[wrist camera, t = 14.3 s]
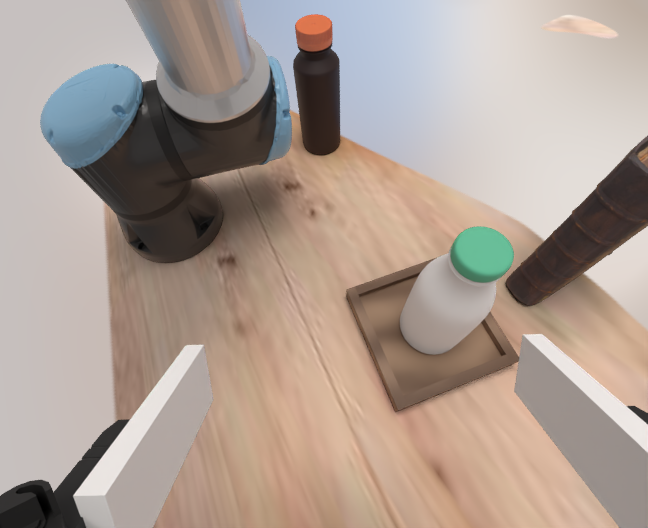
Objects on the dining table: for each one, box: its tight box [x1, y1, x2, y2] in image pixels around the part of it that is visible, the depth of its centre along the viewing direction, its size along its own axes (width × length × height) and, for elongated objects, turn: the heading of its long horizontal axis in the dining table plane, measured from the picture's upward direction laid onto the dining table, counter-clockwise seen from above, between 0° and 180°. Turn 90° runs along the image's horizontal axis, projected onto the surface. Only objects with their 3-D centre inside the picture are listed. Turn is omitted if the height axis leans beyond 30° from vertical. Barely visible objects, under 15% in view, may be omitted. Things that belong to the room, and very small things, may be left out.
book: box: [506, 136, 648, 306], centre depth 38 cm, size 17×7×25 cm, turn 119°
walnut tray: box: [346, 258, 519, 412], centre depth 45 cm, size 16×16×2 cm
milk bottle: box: [400, 227, 514, 355], centre depth 36 cm, size 8×8×20 cm
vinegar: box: [293, 15, 340, 154], centre depth 54 cm, size 7×7×20 cm
